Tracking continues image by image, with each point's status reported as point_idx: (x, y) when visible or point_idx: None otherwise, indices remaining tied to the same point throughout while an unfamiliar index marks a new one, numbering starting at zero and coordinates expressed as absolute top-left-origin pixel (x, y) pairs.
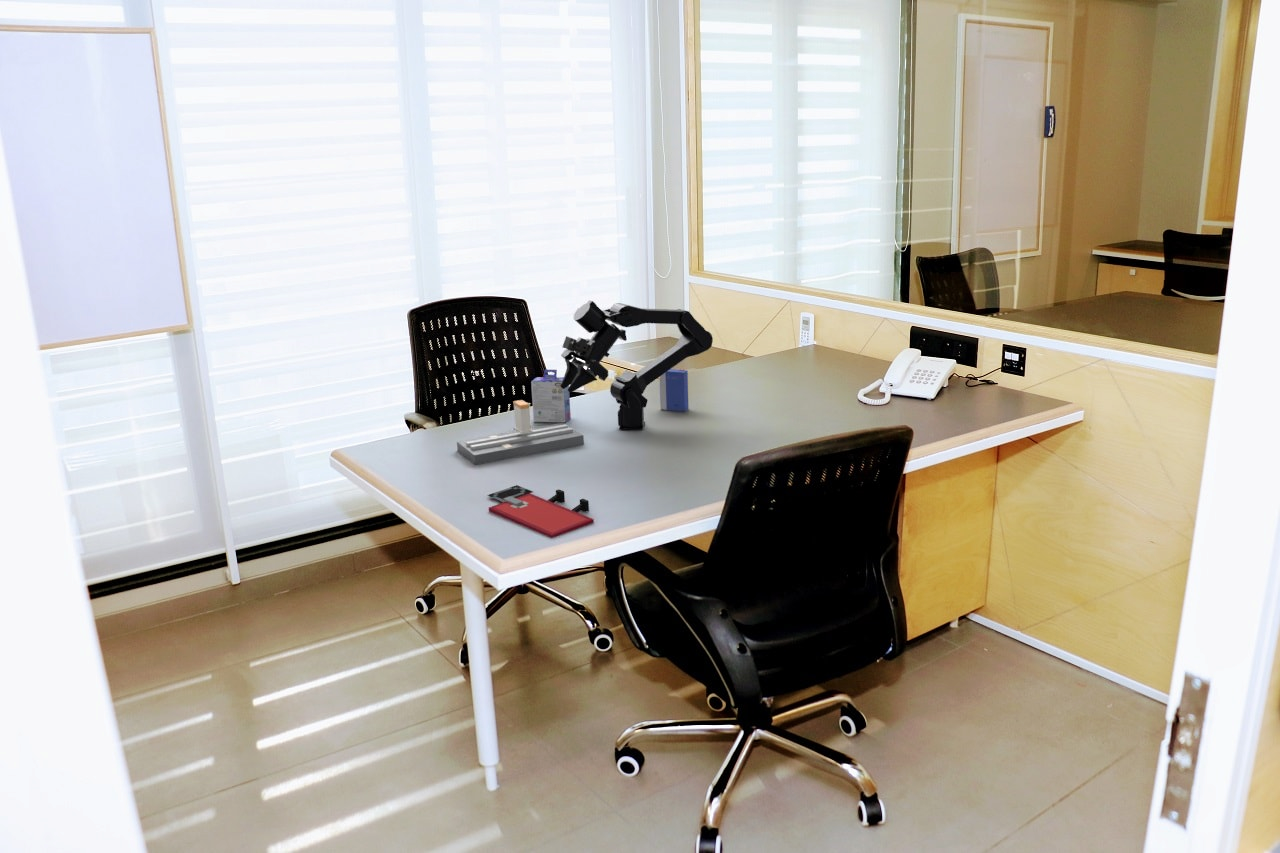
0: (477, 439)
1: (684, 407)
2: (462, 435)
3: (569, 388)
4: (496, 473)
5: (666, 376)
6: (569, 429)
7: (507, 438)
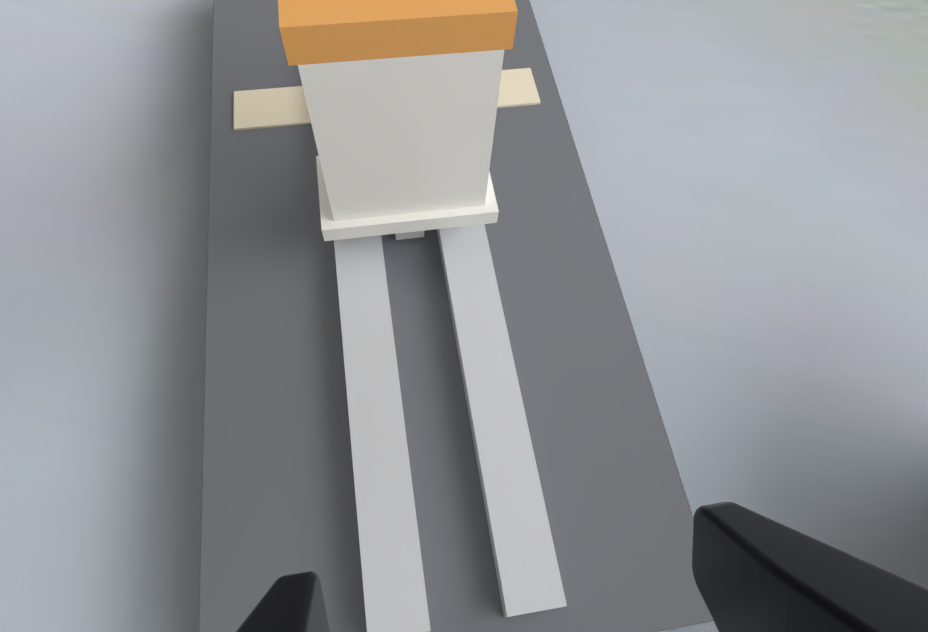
0: None
1: None
2: (775, 47)
3: (252, 614)
4: (21, 54)
5: None
6: (367, 600)
7: None
